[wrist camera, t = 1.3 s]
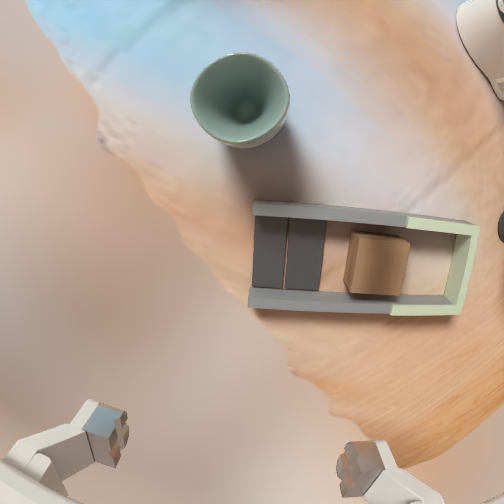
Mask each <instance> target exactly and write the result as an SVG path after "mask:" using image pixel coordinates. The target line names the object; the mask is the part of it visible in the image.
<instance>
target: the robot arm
mask: <svg viewBox="0 0 504 504" xmlns="http://www.w3.org/2000/svg"><path fill="white" fill-rule="evenodd" d="M456 20H457V27H458V31H459V34H460V36H461V39H462V41H463V43H464V45H465V47H466V49H467V51H468V53H469V54H470V56H471V57H472V59H473V60H474V62H475V63H476V64H477V66H478V67H479V68H480V69H481V70H482V72H483V73H484V74H485V75H486V76H487V78H488V79H489V81H490V83H491V85H492V87H493V89H494V91H495V93H496V95H497V96H498V98H499V99H501V100H503V101H504V0H470V1H467V2H464V3H462V4H461V5H460V6H459V8H458V10H457V15H456ZM127 418H128V417H127V412H126V411H123V410H120V409H117V408H114V407H111V406H108V405H106V404H103V403H100V402H97V401H94V400H92V399H89V400H87V401H86V402H85V403H84V405H83V406H82V408H81V409H80V410H79V412H78V413H77V415H76V416H75V417H74V419H73V420H72V422H71V423H70V425H69V424H63V425H60V426H58V427H55V428H52V429H49V430H46V431H44V432H41V433H38V434H35V435H32V436H29V437H26V438H23V439H20V440H18V441H17V442H16V444H15V445H14V446H13V447H12V449H11V450H10V451H9V452H8V454H7V455H6V456H5V458H4V459H3V460H2V459H0V504H83V503H80V502H78V501H76V500H74V499H71V498H69V497H68V493H67V491H66V489H65V487H64V485H63V484H62V482H61V481H63V480H65V479H67V478H68V477H70V476H72V475H74V474H75V473H77V472H79V471H81V470H82V469H84V468H86V467H88V466H89V465H91V464H92V463H94V461H96V462H98V463H101V464H104V465H107V466H110V467H113V468H116V466H117V464H118V462H119V459H120V457H121V453H120V450H121V449H123V448H125V446H126V444H127V441H128V437H129V426H128V425H127V424H126V421H127ZM344 449H345V452H344V453H343V454H341V455H340V457H339V459H338V461H337V466H336V471H337V476H338V477H339V478H340V479H341V480H342V482H341V483H340V489H341V494H342V497H343V498H344V497H359V496H363V498H364V500H365V501H366V502H367V503H368V504H445V503H444V501H443V499H442V497H441V495H440V494H439V493H437V492H436V491H434V490H433V489H431V488H430V487H428V486H426V485H425V484H424V483H422V482H420V481H419V480H418V479H416V478H415V477H413V476H412V475H410V474H409V473H407V472H406V471H405V470H403V469H402V468H398V467H397V465H396V462H395V460H394V458H393V455H392V453H391V451H390V449H389V446H388V444H387V442H386V441H385V440H378V441H358V442H348V443H347V444H346V446H345V448H344ZM481 504H504V493H502V494H500V495H499V496H497V497H494V498H492V499H490V500H488V501H486V502H484V503H481Z"/></svg>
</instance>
